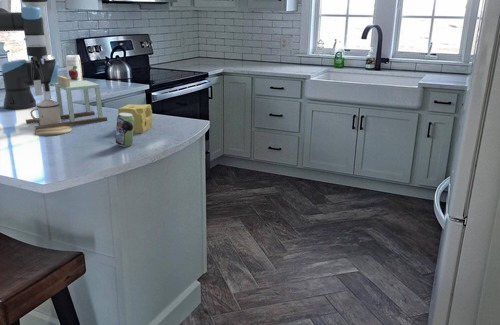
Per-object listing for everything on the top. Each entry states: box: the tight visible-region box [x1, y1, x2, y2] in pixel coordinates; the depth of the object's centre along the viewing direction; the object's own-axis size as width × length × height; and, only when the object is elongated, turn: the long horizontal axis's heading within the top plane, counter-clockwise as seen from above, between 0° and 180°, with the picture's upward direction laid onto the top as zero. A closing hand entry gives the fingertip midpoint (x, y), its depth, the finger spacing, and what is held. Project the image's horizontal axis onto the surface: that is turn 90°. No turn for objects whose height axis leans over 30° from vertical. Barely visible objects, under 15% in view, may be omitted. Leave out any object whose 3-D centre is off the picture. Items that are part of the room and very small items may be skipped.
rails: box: [25, 110, 108, 131], centre depth 212 cm, size 18×30×2 cm, turn 127°
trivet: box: [34, 126, 73, 137], centre depth 195 cm, size 14×14×1 cm
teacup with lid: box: [29, 99, 62, 126], centre depth 205 cm, size 12×9×12 cm
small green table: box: [54, 75, 104, 122], centre depth 212 cm, size 17×14×18 cm
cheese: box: [117, 103, 153, 134], centre depth 196 cm, size 10×11×10 cm
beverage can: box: [115, 113, 134, 147], centre depth 173 cm, size 6×7×12 cm
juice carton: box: [65, 54, 84, 82], centre depth 316 cm, size 8×9×19 cm
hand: (43, 97), depth 203 cm, fingers open, 13 cm apart
